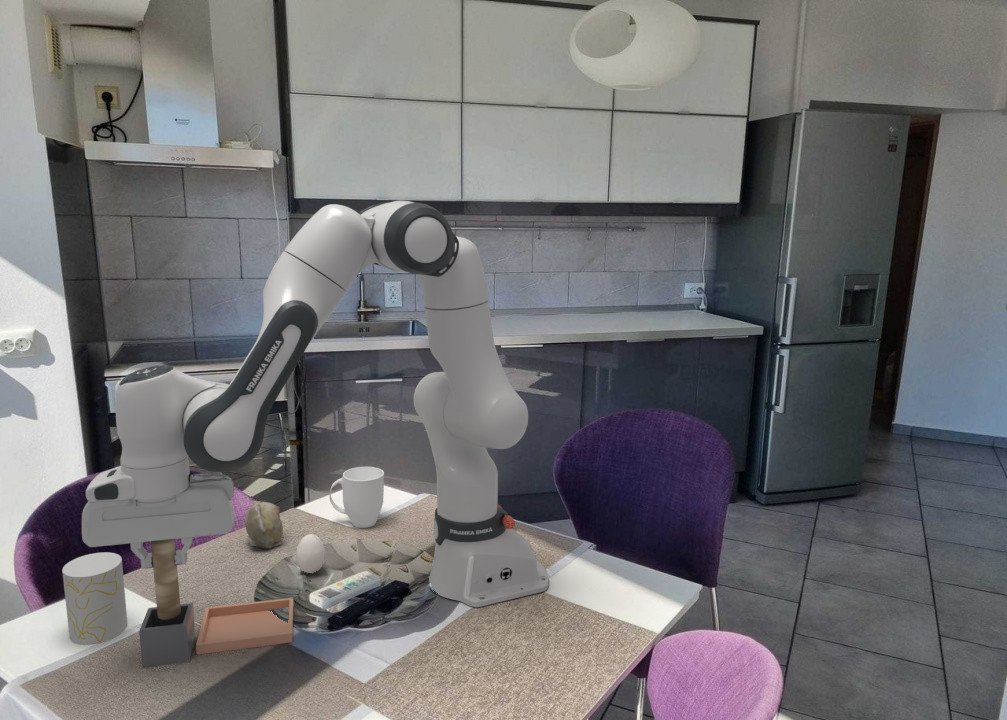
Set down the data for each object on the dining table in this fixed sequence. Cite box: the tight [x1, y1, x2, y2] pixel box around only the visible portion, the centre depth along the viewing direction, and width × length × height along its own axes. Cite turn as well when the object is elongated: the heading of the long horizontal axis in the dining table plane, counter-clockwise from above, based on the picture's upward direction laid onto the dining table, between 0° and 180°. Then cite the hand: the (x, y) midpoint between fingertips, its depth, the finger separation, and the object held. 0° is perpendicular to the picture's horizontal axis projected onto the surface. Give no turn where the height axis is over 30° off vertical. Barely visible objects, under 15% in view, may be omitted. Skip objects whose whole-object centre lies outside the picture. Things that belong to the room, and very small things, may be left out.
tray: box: [195, 597, 294, 655], centre depth 116 cm, size 14×11×2 cm
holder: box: [138, 602, 197, 669], centre depth 109 cm, size 6×6×7 cm
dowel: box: [150, 539, 181, 620], centre depth 107 cm, size 3×3×12 cm
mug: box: [329, 466, 385, 529], centre depth 156 cm, size 12×9×12 cm
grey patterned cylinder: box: [61, 551, 129, 646], centre depth 113 cm, size 8×8×12 cm
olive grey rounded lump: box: [244, 500, 284, 549], centre depth 146 cm, size 9×8×10 cm
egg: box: [295, 533, 326, 573], centre depth 135 cm, size 5×5×8 cm
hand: (164, 565), depth 106 cm, fingers closed on dowel, 3 cm apart
